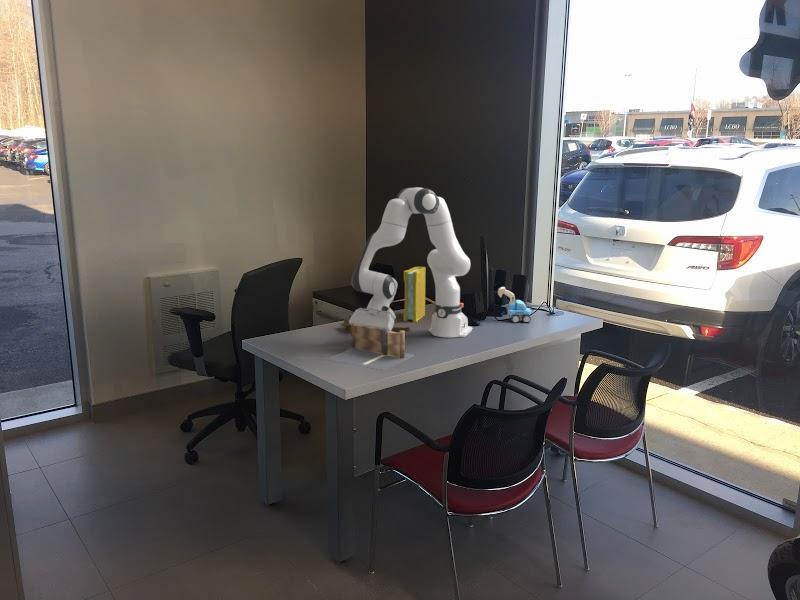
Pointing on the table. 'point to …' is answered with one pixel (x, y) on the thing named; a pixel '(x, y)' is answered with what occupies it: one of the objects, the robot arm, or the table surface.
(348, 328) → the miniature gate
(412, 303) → the book
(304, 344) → the table surface
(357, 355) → the board
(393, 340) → the fixed fence
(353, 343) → the fence leaf
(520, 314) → the toy excavator
